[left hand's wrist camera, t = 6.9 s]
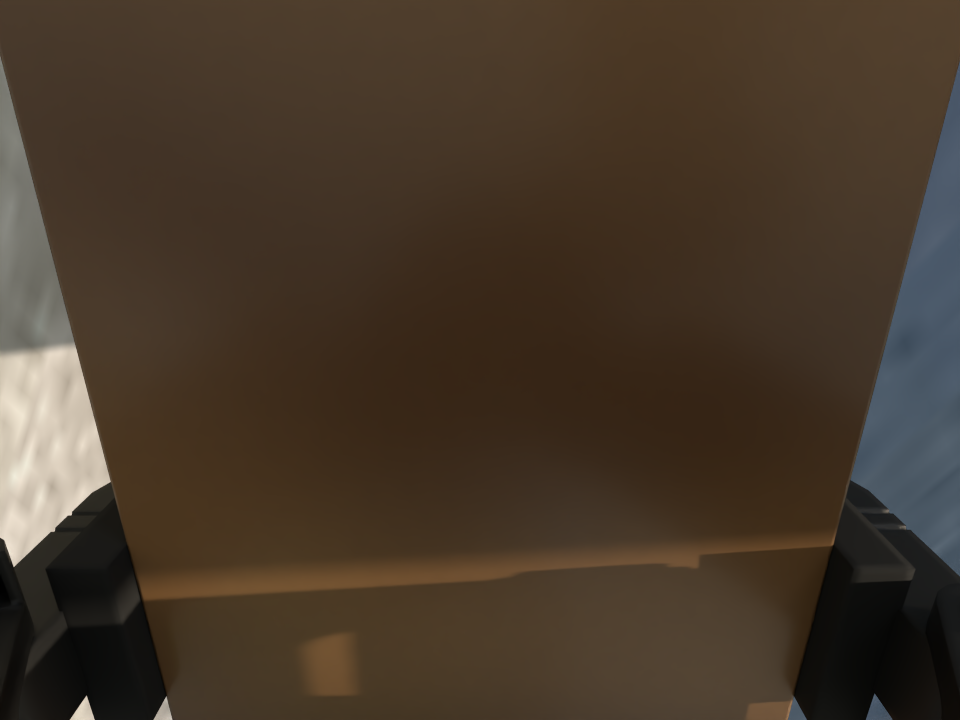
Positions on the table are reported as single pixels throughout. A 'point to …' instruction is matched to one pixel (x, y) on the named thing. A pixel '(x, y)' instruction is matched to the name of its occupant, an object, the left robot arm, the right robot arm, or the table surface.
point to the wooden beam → (480, 332)
